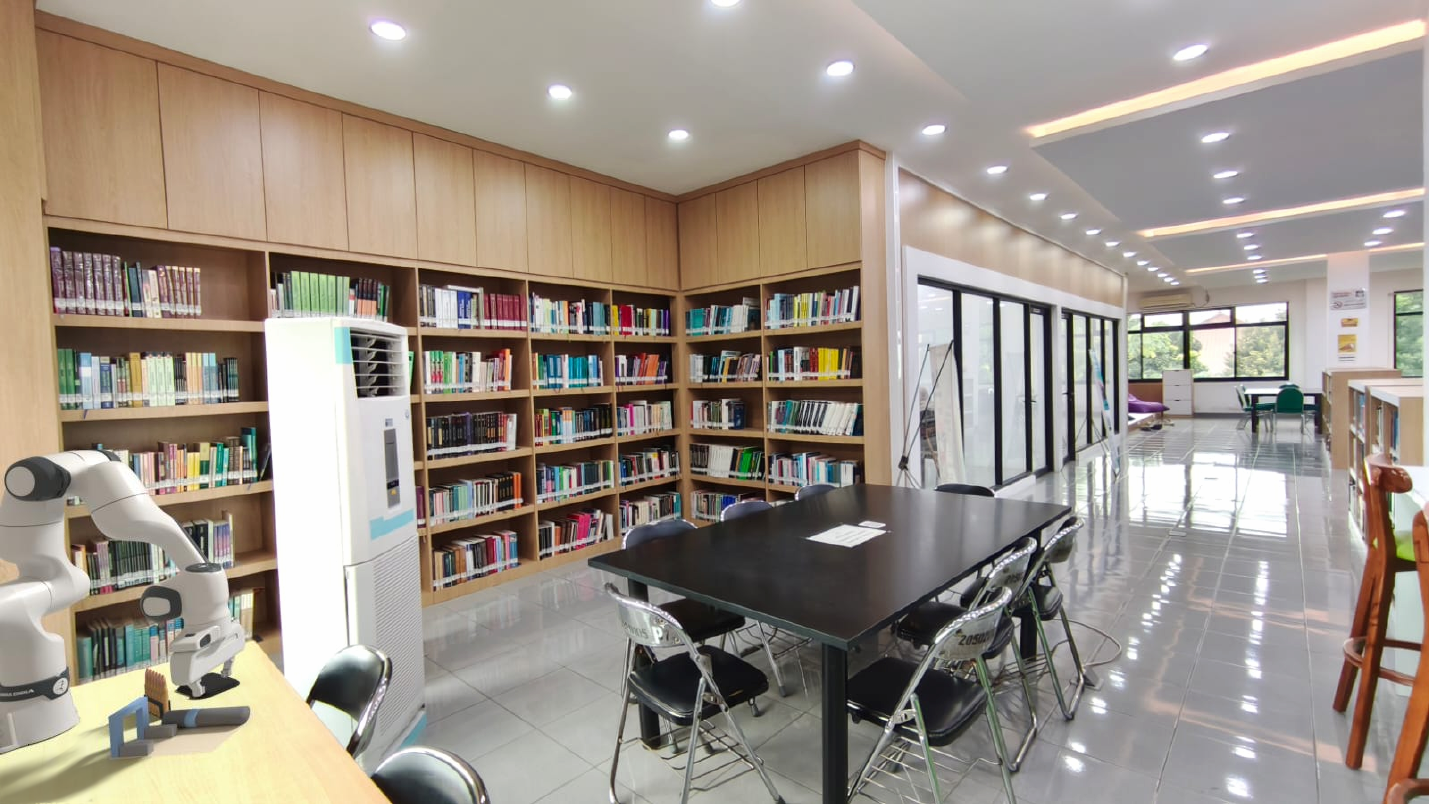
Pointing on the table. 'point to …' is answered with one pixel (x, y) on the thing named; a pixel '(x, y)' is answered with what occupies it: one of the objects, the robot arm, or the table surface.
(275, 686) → the table surface
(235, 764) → the table surface
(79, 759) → the table surface
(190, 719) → the gray banded cylinder
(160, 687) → the ammunition clip
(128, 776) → the table surface
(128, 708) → the blue arch frame
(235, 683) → the carrying case or bag
